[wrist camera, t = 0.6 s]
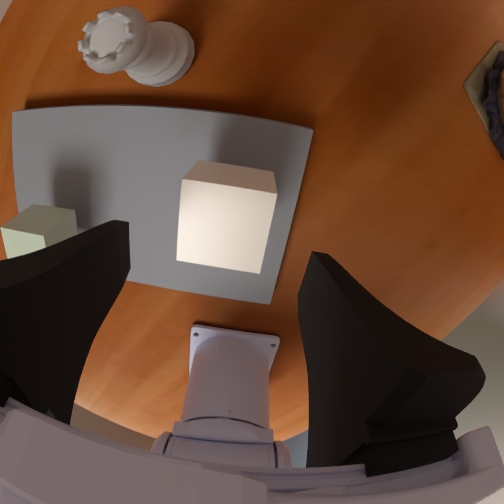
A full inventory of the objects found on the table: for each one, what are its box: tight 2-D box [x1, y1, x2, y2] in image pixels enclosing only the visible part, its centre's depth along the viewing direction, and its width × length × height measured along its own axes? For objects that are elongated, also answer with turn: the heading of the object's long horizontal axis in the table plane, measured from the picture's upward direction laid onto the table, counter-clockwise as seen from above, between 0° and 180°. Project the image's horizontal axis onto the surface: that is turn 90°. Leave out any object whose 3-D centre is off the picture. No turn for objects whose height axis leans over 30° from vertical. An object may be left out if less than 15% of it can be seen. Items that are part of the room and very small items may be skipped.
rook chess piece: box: [78, 7, 195, 87], centre depth 12 cm, size 4×4×8 cm
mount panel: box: [12, 104, 313, 305], centre depth 18 cm, size 13×22×4 cm, turn 80°
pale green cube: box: [1, 204, 78, 259], centre depth 16 cm, size 4×4×4 cm
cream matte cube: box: [176, 160, 277, 274], centre depth 15 cm, size 4×4×4 cm
